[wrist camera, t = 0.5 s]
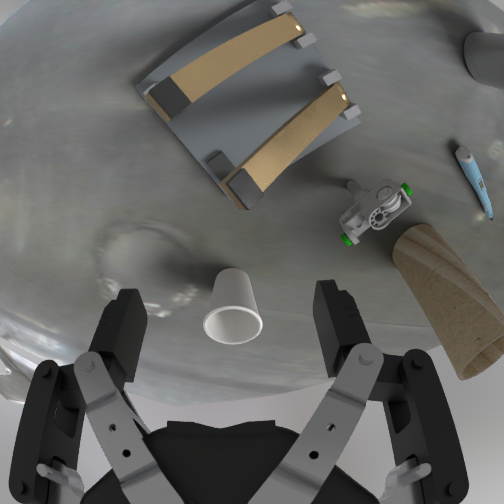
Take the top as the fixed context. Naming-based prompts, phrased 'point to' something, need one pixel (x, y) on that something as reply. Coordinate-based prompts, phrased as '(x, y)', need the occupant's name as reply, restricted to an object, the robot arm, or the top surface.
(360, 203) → the mechanical component
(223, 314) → the dixie cup
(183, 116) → the mount plate
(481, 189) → the 3d printing pen
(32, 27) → the top surface
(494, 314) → the tube
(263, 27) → the strap front
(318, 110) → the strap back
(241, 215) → the top surface
